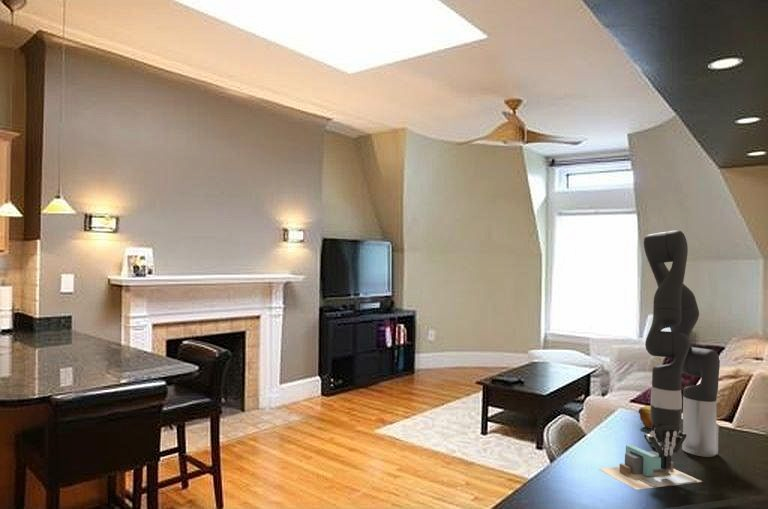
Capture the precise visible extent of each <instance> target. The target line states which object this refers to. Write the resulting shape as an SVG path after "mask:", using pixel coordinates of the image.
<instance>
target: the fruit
mask: <svg viewBox="0 0 768 509" xmlns="http://www.w3.org/2000/svg"><path fill="white" fill-rule="evenodd" d="M650 410H651V405H645V406H642V407H640V408H639V409H638V411H637V412H638V413H639V418H640V420H641V422H642V424H643V426H644V427H645V428H646V429H647V428H648V429H651V427H652V425H653V422H652V420H651V418H650Z"/></svg>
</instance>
